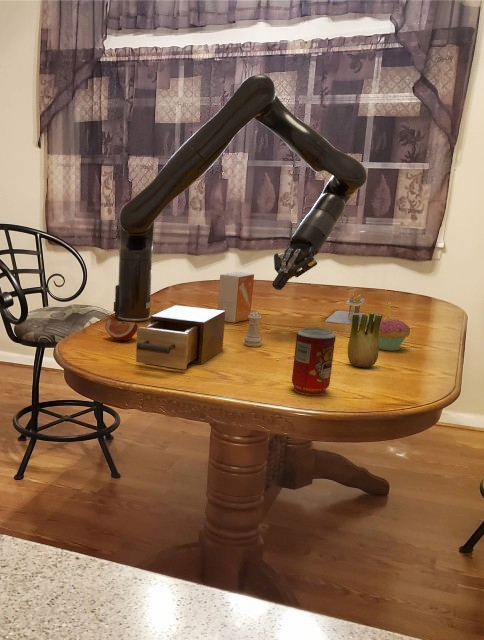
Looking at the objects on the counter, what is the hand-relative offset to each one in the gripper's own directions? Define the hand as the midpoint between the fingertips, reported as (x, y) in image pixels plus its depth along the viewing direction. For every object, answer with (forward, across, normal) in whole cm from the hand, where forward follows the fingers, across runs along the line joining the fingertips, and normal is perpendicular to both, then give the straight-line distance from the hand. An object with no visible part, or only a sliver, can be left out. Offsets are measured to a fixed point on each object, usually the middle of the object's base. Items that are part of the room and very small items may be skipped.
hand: (276, 287), depth 169 cm
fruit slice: (+31, -20, -16) cm, 40 cm away
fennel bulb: (+11, +26, +11) cm, 30 cm away
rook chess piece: (+15, 0, +4) cm, 15 cm away
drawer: (+34, +5, -19) cm, 39 cm away
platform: (-17, -9, +39) cm, 44 cm away
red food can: (+27, +33, -7) cm, 43 cm away
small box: (+4, -24, +15) cm, 28 cm away
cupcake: (-2, +18, +24) cm, 30 cm away
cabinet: (+28, -1, -11) cm, 30 cm away
